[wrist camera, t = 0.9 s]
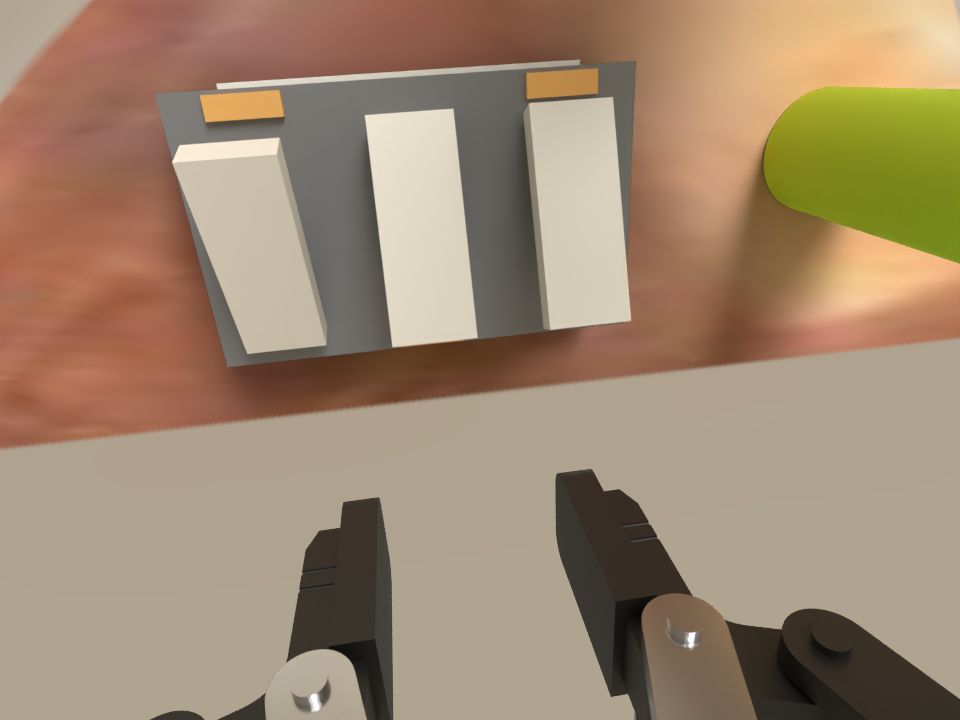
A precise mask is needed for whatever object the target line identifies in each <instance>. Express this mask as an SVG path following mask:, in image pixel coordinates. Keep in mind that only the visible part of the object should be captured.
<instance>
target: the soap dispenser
mask: <svg viewBox="0 0 960 720" xmlns="http://www.w3.org/2000/svg"><path fill="white" fill-rule="evenodd" d="M763 168H764V176H765V180H766V183H767V186H768V188H769V190H770V192H771V193H772V195H773V196H774V197H775V198H776V199H777V200H778V201H779V202H780V203H782V204H783V205H785V206H787V207H789V208H792V209H795V210H798V211H801V212H804V213H807V214H810V215H813V216H816V217H819V218H822V219H825V220H828V221H831V222H834V223H837V224H840V225H844V226H847V227H850V228H853V229H856V230H859V231H862V232H865V233H868V234H871V235H874V236H877V237H880V238H883V239H886V240H889V241H892V242H896V243H899V244H902V245H905V246H908V247H911V248H914V249H917V250H920V251H923V252H926V253H929V254H932V255H935V256H938V257H941V258H944V259H948V260H951V261H954V262H957V263H960V90H956V89H914V88H872V87H825V88H821V89H817V90H815V91H812V92H810V93H808V94H806V95H804V96H803V97H801V98H799V99H798V100H797V101H795V102H794V103H793V104H792V105H791V106H790V107H789V108H788V109H787V110H786V111H785V112H784V113H783V114H782V116H781V117H780V118H779V120H778V121H777V123H776V124H775V126H774V128H773V129H772V131H771V134H770V136H769V138H768V141H767V144H766V148H765V153H764V161H763Z"/></svg>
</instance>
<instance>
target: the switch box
mask: <svg viewBox="0 0 960 720" xmlns="http://www.w3.org/2000/svg"><path fill="white" fill-rule="evenodd" d="M635 66H636V61H633V62H616V63H599V64H584V65H580V59H579V60H564V61H549V62H534V63H519V64H504V65H489V66H474V67H459V68H444V69H429V70H414V71H400V72H385V73H370V74H355V75H340V76H325V77H310V78H295V79H280V80H265V81H250V82H235V83H220V84H216V85H217V89H215V90H200V91H186V92H173V93H160V94H155V96H156V100H157V104H158V108H159V111H160V115H161V119H162V123H163V127H164V130H165V134H166V138H167V142H168V145H169V149H170V153H171V157H172V160H173V159H174V157H175V154H176V152H177V150H178V147H179V145H189V144H202V143H215V142H228V141H241V140H255V139H268V138H280V141H281V145H282V149H283V153H284V157H285V161H286V165H287V169H288V173H289V177H290V181H291V185H292V189H293V193H294V197H295V201H296V205H297V208H298V212H299V216H300V220H301V224H302V228H303V232H304V236H305V240H306V244H307V248H308V252H309V256H310V260H311V264H312V268H313V272H314V276H315V280H316V284H317V288H318V292H319V296H320V300H321V304H322V308H323V312H324V316H325V320H326V323H327V345H324V346H315V347H306V348H297V349H288V350H279V351H270V352H261V353H252V354H247V352H246V349H245V347H244V344H243V342H242V339H241V336H240V334H239V331H238V329H237V326H236V324H235V321H234V319H233V316H232V314H231V311H230V309H229V306H228V303H227V301H226V298H225V296H224V293H223V291H222V288H221V286H220V283H219V281H218V278H217V276H216V273H215V271H214V268H213V265H212V263H211V260H210V258H209V255H208V253H207V250H206V248H205V245H204V243H203V240H202V238H201V235H200V232H199V230H198V227H197V225H196V222H195V220H194V217H193V215H192V212H191V210H190V207H189V205H188V202H187V199H186V197H185V194H184V192H183V189H182V187H181V184H180V182H179V179H178V177H177V179H178V183H179V187H180V190H181V194H182V198H183V202H184V206H185V209H186V213H187V217H188V221H189V224H190V228H191V232H192V236H193V239H194V243H195V247H196V251H197V254H198V258H199V262H200V266H201V270H202V273H203V277H204V281H205V285H206V288H207V292H208V296H209V300H210V303H211V307H212V311H213V315H214V318H215V322H216V326H217V330H218V333H219V337H220V341H221V345H222V349H223V352H224V356H225V360H226V364H227V367H235V366H244V365H253V364H262V363H271V362H280V361H289V360H298V359H307V358H316V357H324V356H333V355H342V354H351V353H360V352H369V351H378V350H387V349H396V348H405V347H414V346H423V345H432V344H441V343H450V342H459V341H468V340H476V339H485V338H494V337H503V336H512V335H521V334H530V333H539V332H548V331H557V330H566V329H575V328H584V327H593V326H602V325H611V324H620V323H624V322H616V323H607V324H598V325H590V326H581V327H572V328H563V329H554V330H548V329H544V328H543V317H542V307H541V296H540V286H539V275H538V265H537V254H536V244H535V233H534V223H533V212H532V202H531V191H530V180H529V170H528V159H527V149H526V138H525V128H524V117H523V113H524V111H525V109H526V108H527V106H528V104H529V103H538V102H551V101H565V100H579V99H592V98H606V97H613V104H614V116H615V129H616V141H617V153H618V166H619V178H620V190H621V203H622V215H623V227H624V240H625V252H626V264H627V249H628V226H629V203H630V180H631V157H632V134H633V112H634V89H635ZM441 109H453V110H454V119H455V129H456V138H457V148H458V157H459V167H460V176H461V185H462V195H463V204H464V214H465V223H466V233H467V242H468V252H469V261H470V271H471V280H472V290H473V299H474V309H475V318H476V328H477V337H478V338H472V339H463V340H454V341H445V342H436V343H428V344H419V345H410V346H401V347H392V339H391V331H390V322H389V314H388V305H387V297H386V289H385V280H384V272H383V264H382V255H381V247H380V238H379V230H378V222H377V213H376V205H375V196H374V188H373V180H372V171H371V163H370V154H369V146H368V138H367V129H366V121H365V115H373V114H387V113H400V112H414V111H428V110H441ZM176 175H177V174H176Z"/></svg>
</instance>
